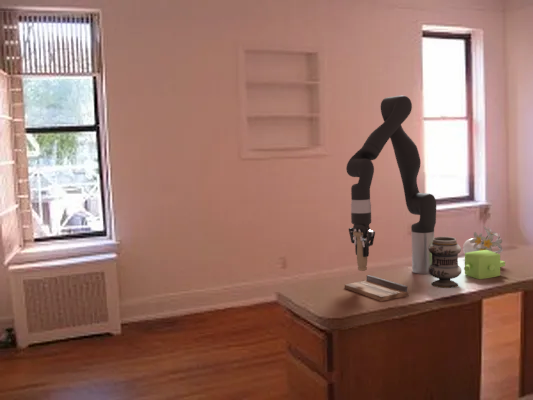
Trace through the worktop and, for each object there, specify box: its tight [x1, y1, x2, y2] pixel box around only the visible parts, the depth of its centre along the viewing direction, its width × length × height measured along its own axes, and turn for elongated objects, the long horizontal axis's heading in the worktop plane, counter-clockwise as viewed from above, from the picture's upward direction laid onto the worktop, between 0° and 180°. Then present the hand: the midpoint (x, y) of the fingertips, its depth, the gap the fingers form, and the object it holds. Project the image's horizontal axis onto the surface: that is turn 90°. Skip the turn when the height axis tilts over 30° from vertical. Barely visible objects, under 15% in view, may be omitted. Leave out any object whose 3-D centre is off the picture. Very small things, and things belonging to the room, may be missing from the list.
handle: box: [353, 232, 368, 272], centre depth 214 cm, size 5×6×15 cm
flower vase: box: [462, 225, 504, 254], centre depth 249 cm, size 13×18×25 cm
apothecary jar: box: [428, 236, 462, 289], centre depth 213 cm, size 12×12×18 cm
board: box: [344, 274, 409, 302], centre depth 208 cm, size 12×22×4 cm, turn 28°
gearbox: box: [463, 250, 506, 280], centre depth 224 cm, size 18×10×10 cm, turn 108°
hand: (362, 255), depth 214 cm, fingers closed on handle, 4 cm apart
